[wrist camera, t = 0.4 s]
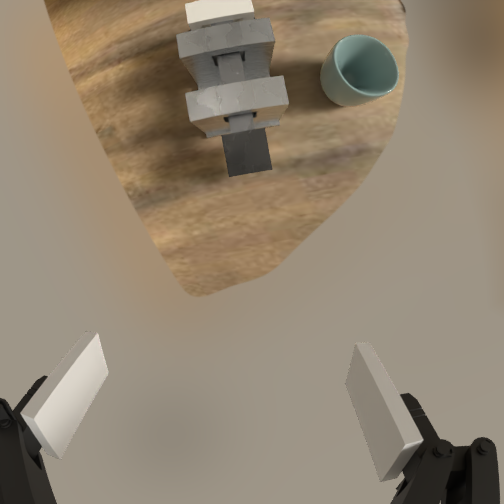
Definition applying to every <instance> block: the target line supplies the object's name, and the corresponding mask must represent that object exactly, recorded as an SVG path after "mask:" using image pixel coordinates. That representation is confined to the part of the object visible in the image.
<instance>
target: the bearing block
mask: <svg viewBox="0 0 504 504" xmlns="http://www.w3.org/2000/svg"><path fill="white" fill-rule="evenodd" d="M176 37H177V44H178V51H179V57H180V60H181V61H182V62H183V64H184V65H185V67H186V68H187V70H188V71H189V73H190V74H191V76H192V77H193V79H194V80H195V82H196V83H197V85H198V90H196V91H192V92H188V93H185V96H186V102H187V108H188V114H189V119H190V122H191V123H192V124H194V125H195V126H196V127H198V128H199V129H200V130H202V131H203V132H204V133H206V136H207V138H211V137H216V136H221V135H225V134H230V133H231V130H230V125H229V119H228V116H233V115H239V114H244V113H250V112H252V115H253V121H254V126H255V129H258V128H266V127H273V126H279V125H280V123H279V120H280V119H281V117H282V115H283V114H284V112H285V110H286V108H287V107H288V105H289V101H288V96H287V91H286V86H285V82H284V77H283V76H275V77H270V74H269V70H270V65H271V60H272V54H273V49H274V44H275V38H274V34H273V30H272V26H271V23H270V19H269V18H261V19H253V20H245V21H239V22H232V23H227V24H221V25H216V26H211V27H206V28H201V29H197V30H193V31H189V32H185V33H181V34H177V35H176ZM237 51H240V55H241V60H242V65H243V70H244V75H245V80H246V81H241V82H235V83H230V84H224V85H222V81H221V76H220V71H219V65H218V60H217V55H221V54H226V53H231V52H237Z"/></svg>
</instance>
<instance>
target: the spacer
mask: <svg viewBox="0 0 504 504" xmlns="http://www.w3.org/2000/svg"><path fill="white" fill-rule="evenodd" d="M185 7H186V13H187V20H188V25H189V27H190V29H191V31H193V30H197V29H201V28H206V27H211V24H212V23H217V22H223V21H228V20H233V22H239V21H245V20H253V19H254V9H253V5H252V2H251V0H200V1H195V2H191V3H187V4H185Z"/></svg>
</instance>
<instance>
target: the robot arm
mask: <svg viewBox="0 0 504 504" xmlns="http://www.w3.org/2000/svg"><path fill="white" fill-rule="evenodd" d="M108 374H109V372H108V369H107V366H106V362H105V359H104V355H103V351H102V348H101V344H100V340H99V336H98V333H96V332H88V331H86V332H85V333H84V334H83V335H82V336H81V337H80V338H79V340H78V341H77V342H76V343H75V344H74V346H73V347H72V348H71V349H70V351H69V352H68V353H67V354H66V355H65V356H64V358H63V359H62V360H61V361H60V363H59V364H58V365H57V366H56V368H55V369H54V370H53V371H52V373H51V374H50V375H49V376H43V377H41V378H40V379H38V380H37V381H36V382H35V383H34V384H33V386H32V387H31V389H29V390H28V392H27V394H25V396H24V397H23V398H22V399H21V401H20V402H19V403H18V405H17V406H16V407H15V409H14V410H13V411H12V409H11V407H10V406H9V404H8V402H7V401H6V400H5V399H2V398H0V504H57V503H56V500H55V497H54V494H53V492H52V489H51V486H50V483H49V480H48V477H47V473H46V470H45V466H44V463H43V459H42V456H41V454H40V452H39V451H40V449H41V447H42V448H43V449H44V451H45V452H46V453H47V454H48V455H50V456H52V457H55V458H57V459H61V458H62V456H63V454H64V452H65V450H66V448H67V446H68V444H69V442H70V441H71V439H72V437H73V435H74V433H75V431H76V429H77V428H78V426H79V424H80V422H81V420H82V418H83V417H84V415H85V413H86V411H87V410H88V408H89V406H90V404H91V402H92V401H93V399H94V397H95V396H96V394H97V392H98V390H99V389H100V387H101V385H102V384H103V382H104V380H105V379H106V377H107V375H108ZM345 384H346V387H347V390H348V392H349V395H350V398H351V400H352V403H353V406H354V408H355V411H356V414H357V417H358V419H359V422H360V425H361V428H362V430H363V433H364V436H365V439H366V442H367V445H368V447H369V450H370V453H371V456H372V459H373V462H374V465H375V468H376V471H377V473H378V477H379V480H380V482H383V481H387V480H391V479H395V478H397V477H398V476H399V474H400V473H401V472H402V471H403V474H404V476H405V478H404V479H403V481H402V482H401V483H400V484H399V485H398V487H397V488H396V489H397V492H396V494H395V496H394V498H393V500H392V502H391V504H439V503H440V501H441V504H500V489H499V473H498V461H497V452H496V447H495V444H494V443H493V442H492V441H491V440H490V439H488V438H485V437H481V438H477V439H475V440H474V441H473V443H472V444H471V445H470V446H458V447H455V446H453V445H452V444H451V443H450V442H448V441H446V440H443V439H440V438H439V437H438V435H437V433H436V432H435V430H434V428H433V426H432V425H431V423H430V421H429V419H428V418H427V416H425V412H424V411H423V409H422V407H421V406H420V404H419V402H418V401H417V399H416V398H414V397H413V396H412V395H411V394H409V393H406V394H401V395H399V393H398V391H397V389H396V387H395V386H394V384H393V382H392V381H391V379H390V377H389V375H388V373H387V372H386V370H385V368H384V366H383V365H382V363H381V361H380V359H379V358H378V356H377V354H376V353H375V351H374V349H373V347H372V346H371V344H370V343H369V342H365V343H364V342H363V343H356V344H355V347H354V352H353V356H352V360H351V364H350V368H349V372H348V375H347V379H346V383H345Z"/></svg>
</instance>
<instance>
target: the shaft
mask: <svg viewBox="0 0 504 504" xmlns="http://www.w3.org/2000/svg"><path fill="white" fill-rule="evenodd" d="M232 22H233V20H228V21H223V22H217V23H212V24H211V26H216V25H221V24H227V23H232ZM217 60H218V65H219V71H220V76H221V81H222V85H224V84H230V83H235V82H241V81H246V80H245V75H244V70H243V65H242V60H241V55H240V51H237V52H231V53H226V54H221V55H217ZM228 119H229V125H230V130H231V133H230V134H225V135H221V136H222V141H223V147H224V152H225V158H226V163H227V168H228V174H229V177H232V176H237V175H243V174H248V173H254V172H260V171H266V170H272V165H271V160H270V154H269V149H268V143H267V138H266V132H265V128H258V129H255V126H254V121H253V115H252V112H250V113H244V114H239V115H233V116H228Z"/></svg>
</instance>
